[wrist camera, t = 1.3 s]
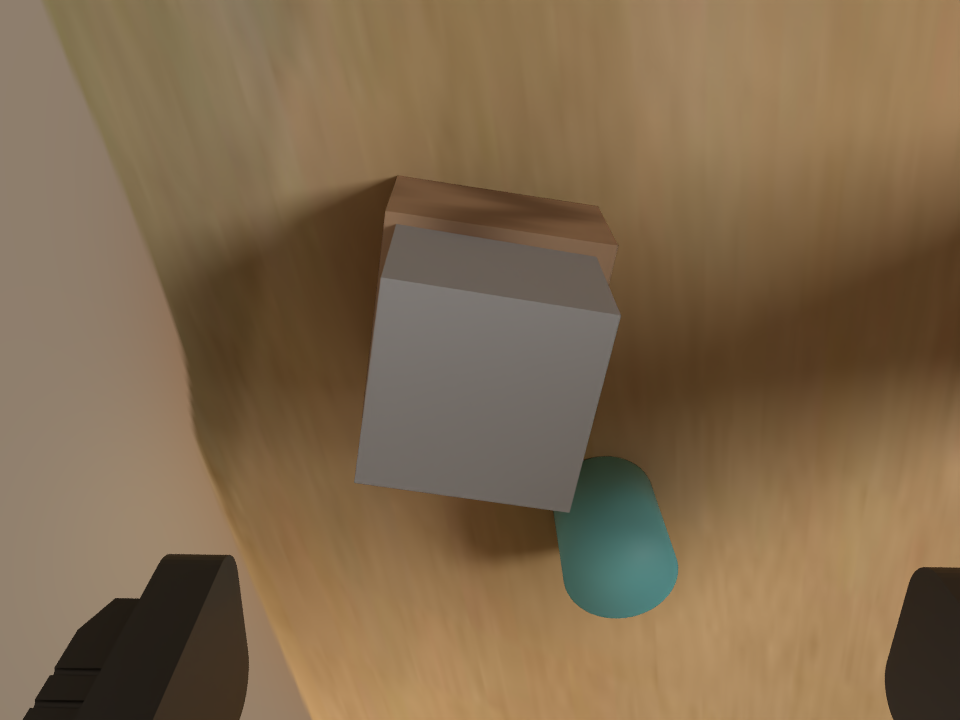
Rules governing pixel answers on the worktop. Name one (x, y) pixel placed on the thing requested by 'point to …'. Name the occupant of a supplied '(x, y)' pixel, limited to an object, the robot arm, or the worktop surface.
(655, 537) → the teal cylinder
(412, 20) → the worktop surface
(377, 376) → the grey cube
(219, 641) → the robot arm
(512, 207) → the tower base
